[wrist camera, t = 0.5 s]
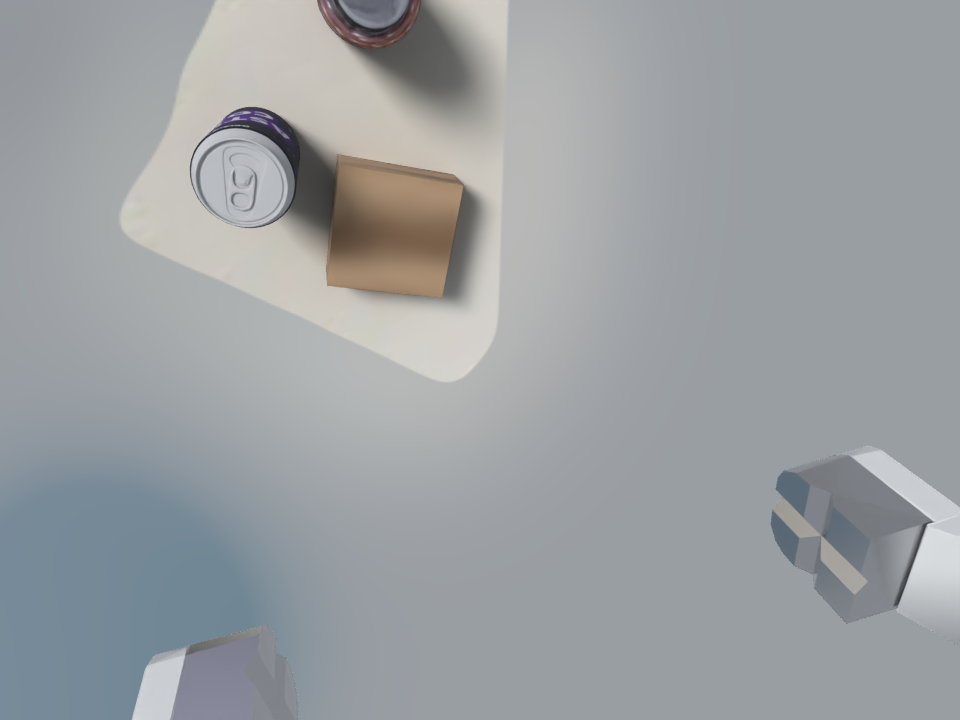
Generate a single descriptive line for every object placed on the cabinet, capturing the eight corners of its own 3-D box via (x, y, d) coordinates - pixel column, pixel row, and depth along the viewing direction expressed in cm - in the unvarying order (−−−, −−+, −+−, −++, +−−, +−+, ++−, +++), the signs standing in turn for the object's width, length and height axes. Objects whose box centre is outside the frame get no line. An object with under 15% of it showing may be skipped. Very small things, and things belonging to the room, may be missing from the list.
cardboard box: (337, 154, 44) (339, 164, 41) (452, 174, 47) (463, 185, 44) (326, 267, 48) (327, 285, 45) (433, 280, 51) (442, 298, 48)
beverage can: (305, 117, 43) (302, 144, 33) (294, 194, 45) (288, 242, 35) (220, 96, 41) (189, 117, 31) (213, 178, 43) (182, 223, 33)
